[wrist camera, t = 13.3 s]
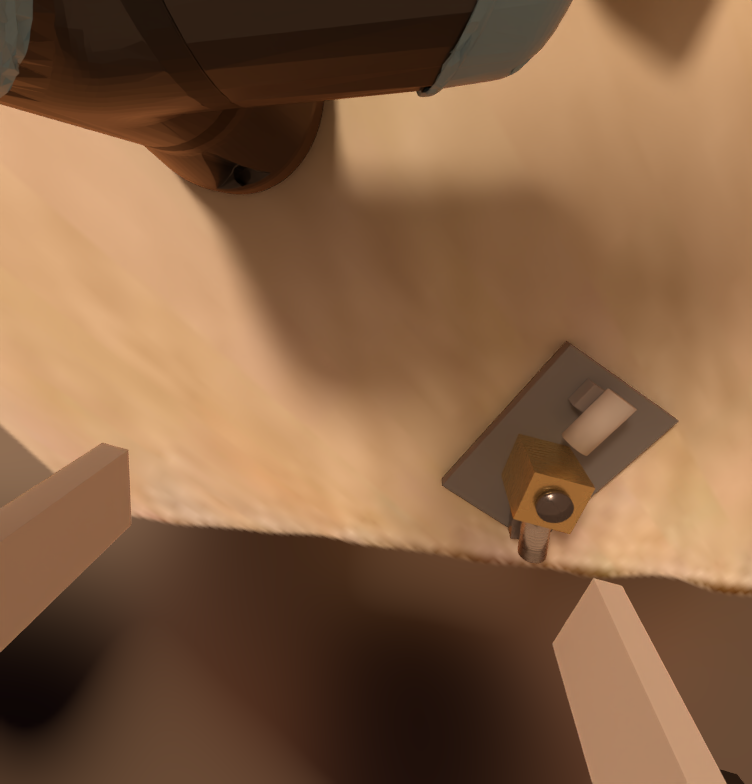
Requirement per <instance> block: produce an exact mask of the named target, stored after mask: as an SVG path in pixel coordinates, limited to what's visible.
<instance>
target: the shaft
mask: <svg viewBox="0 0 752 784" xmlns="http://www.w3.org/2000/svg"><path fill="white" fill-rule="evenodd" d="M508 530H509V534H510V538H511V539H519V542H518V553H519V555H520V556H521V557H522V558H523V559H524V560H526V561H528V562H531V563H541V562H543V561H544V560H545V559H546V555H547V549H548V543H549V536H550V530H551V529H549V528H545V527H541V526H538V525H534V524H530V523H526V522H523V521H519V520H515V519H513V516H512V513H511V509H510V514H509V523H508Z"/></svg>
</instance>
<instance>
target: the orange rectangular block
mask: <svg viewBox="0 0 752 784" xmlns="http://www.w3.org/2000/svg"><path fill="white" fill-rule="evenodd" d="M501 476H502V480H503V484H504V487H505V491H506V495H507V498H508V502H509V506H510V509H511V513H512V516H513V519H515V520H519V521H523V522H526V523H530V524H534V525H538V526H541V527H545V528H549V529H553V530H556V531H560V532H564V533H567V534H570V533H571V532H572V530H573V528H574V526H575V524H576V523H577V521H578V519H579V517H580V515H581V513H582V512H583V510H584V508H585V506H586V504H587V503H588V501H589V499H590V497H591V495H592V494H593V492H594V490H595V487H594V485H593V484H592V482H591V480H590V479H589V477H588V476H587V474H586V472H585V471H584V469H583V468H582V466H581V464H580V463H579V461H578V460H577V458H576V456H575V455H574V453H573V452H572V450H571V448H570V447H569V446H565V445H561V444H557V443H553V442H549V441H546V440H542V439H538V438H534V437H530V436H526V435H522V434H518V436H517V439H516V441H515V443H514V446H513V448H512V450H511V453H510V455H509V458H508V460H507V462H506V465H505V467H504V469H503V472H502V474H501Z"/></svg>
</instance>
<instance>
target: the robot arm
mask: <svg viewBox="0 0 752 784" xmlns="http://www.w3.org/2000/svg"><path fill="white" fill-rule="evenodd" d="M571 2H572V0H0V104H2V105H5V106H9V107H12V108H15V109H19V110H22V111H26V112H29V113H33V114H36V115H40V116H43V117H47V118H50V119H54V120H57V121H61V122H64V123H68V124H71V125H75V126H78V127H82V128H85V129H89V130H92V131H96V132H99V133H103V134H106V135H110V136H113V137H117V138H120V139H124V140H127V141H131V142H134V143H138V144H141V145H144V146H145V147H146V148H147V149H148V150H149V151H150V152H152V153H153V154H154V155H155V156H156V157H157V158H158V159H159V160H161V161H162V162H163V163H164V164H165V165H166V166H167V167H169V168H170V169H171V170H172V171H174V172H175V173H176V174H178V175H179V176H181V177H183V178H184V179H186V180H188V181H190V182H192V183H194V184H196V185H198V186H200V187H203V188H206V189H210V190H214V191H219V192H224V193H230V194H251V193H256V192H260V191H263V190H266V189H269V188H271V187H273V186H275V185H276V184H278V183H280V182H281V181H283V180H284V179H285V178H287V177H288V176H289V175H290V174H291V173H292V172H293V171H294V170H295V169H296V168H297V167H298V166H299V164H300V163H301V162H302V160H303V159H304V158H305V156H306V154H307V153H308V151H309V149H310V147H311V145H312V143H313V141H314V139H315V136H316V134H317V131H318V128H319V124H320V121H321V116H322V111H323V104H324V101H325V100H335V99H344V98H354V97H364V96H374V95H384V94H394V93H403V92H413V91H416V92H417V94H418V96H420V97H428V96H432V95H435V94H436V93H438V92H439V91H441V90H442V89H443V88H449V87H455V86H462V85H468V84H475V83H481V82H488V81H494V80H499V79H502V78H505V77H507V76H509V75H512V74H514V73H515V72H517V71H519V70H520V69H521V68H522V67H523V66H524V65H525V64H526V63H527V62H528V61H529V60H530V59H531V58H532V57H533V56H534V55H535V54H537V53H538V52H539V51H540V50H541V49H542V48H543V46H544V45H545V44H546V43H547V41H548V40H549V39H550V37H551V36H552V35H553V33H554V31H555V30H556V28H557V27H558V25H559V23H560V22H561V20H562V18H563V17H564V15H565V13H566V12H567V10H568V8H569V6H570V4H571ZM130 525H131V504H130V480H129V456H128V450H127V449H123V448H119V447H116V446H112V445H109V444H105V443H101V444H100V445H98V446H97V447H95V448H94V449H92V450H90V451H89V452H87V453H86V454H84V455H83V456H81V457H79V458H78V459H76V460H75V461H73V462H72V463H70V464H69V465H67V466H65V467H64V468H62V469H61V470H59V471H58V472H56V473H55V474H53V475H51V476H50V477H48V478H47V479H46V480H44V481H42V482H41V483H39V484H38V485H36V486H34V487H33V488H31V489H30V490H28V491H27V492H25V493H23V494H22V495H20V496H19V497H17V498H16V499H14V500H12V501H11V502H9V503H8V504H6V505H5V506H3V507H2V508H0V652H1V651H2V650H3V649H4V648H5V647H6V646H7V645H8V644H9V643H10V642H11V641H12V640H13V639H14V638H15V637H16V636H17V635H18V634H19V633H20V632H21V631H22V630H24V629H25V628H26V627H27V626H28V625H29V624H30V623H31V622H32V621H33V620H34V619H35V618H36V617H37V616H38V615H39V614H40V613H41V612H42V611H43V610H44V609H45V608H46V607H47V606H48V605H49V604H50V603H51V602H52V601H53V600H54V599H55V598H56V597H57V596H58V595H60V593H62V592H63V591H64V590H65V589H66V588H67V587H68V586H69V585H70V584H71V583H72V582H73V581H74V580H75V579H76V578H77V577H78V576H79V575H80V574H81V573H82V572H83V571H84V570H85V569H86V568H87V567H88V566H89V565H90V564H91V563H92V562H93V561H94V560H95V559H96V558H98V557H99V556H100V554H102V553H103V552H104V551H105V550H106V549H107V548H108V547H109V546H110V545H111V544H112V543H113V542H114V541H115V540H116V539H117V538H118V537H119V536H120V535H121V534H122V533H123V532H124V531H125V530H126V529H127V528H128V527H129V526H130ZM552 645H553V648H554V652H555V655H556V659H557V662H558V666H559V669H560V673H561V676H562V680H563V683H564V687H565V690H566V694H567V697H568V701H569V704H570V708H571V711H572V715H573V718H574V721H575V725H576V728H577V732H578V736H579V739H580V742H581V746H582V750H583V753H584V756H585V760H586V763H587V767H588V770H589V774H590V777H591V781H592V784H744V783H743V781H742V780H741V779H740V778H739V776H738V775H737V774H734V773H730V772H727V771H724V770H720V769H719V768H718V766H717V765H716V763H715V761H714V759H713V757H712V755H711V753H710V751H709V749H708V747H707V746H706V744H705V742H704V740H703V738H702V736H701V734H700V732H699V730H698V728H697V727H696V725H695V723H694V721H693V719H692V718H691V715H690V713H689V712H688V710H687V708H686V706H685V704H684V702H683V701H682V699H681V696H680V695H679V693H678V691H677V689H676V687H675V685H674V683H673V681H672V680H671V678H670V676H669V674H668V672H667V670H666V668H665V666H664V664H663V662H662V661H661V659H660V657H659V655H658V653H657V651H656V649H655V647H654V645H653V643H652V642H651V640H650V638H649V636H648V634H647V632H646V630H645V628H644V626H643V625H642V623H641V621H640V619H639V617H638V615H637V613H636V611H635V610H634V608H633V606H632V604H631V602H630V600H629V598H628V596H627V594H626V592H625V591H624V589H623V587H622V586H620V585H616V584H613V583H609V582H606V581H602V580H598V579H595V578H593V580H592V582H591V583H590V585H589V586H588V588H587V589H586V591H585V593H584V594H583V596H582V598H581V599H580V601H579V602H578V604H577V605H576V607H575V609H574V610H573V612H572V613H571V615H570V616H569V618H568V620H567V621H566V623H565V624H564V626H563V628H562V629H561V631H560V632H559V634H558V636H557V637H556V639H555V640H554V642H553V644H552Z"/></svg>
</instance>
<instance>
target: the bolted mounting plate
mask: <svg viewBox="0 0 752 784" xmlns="http://www.w3.org/2000/svg"><path fill="white" fill-rule="evenodd" d="M677 422H679V421H678V420H677V419H675V418H674V417H673V416H671V415H670V414H669V413H667V412H666V411H664V410H663V409H662V408H660V407H659V406H657V405H656V404H655V403H653V402H652V401H650V400H649V399H648V398H646V397H645V396H643V395H642V394H640V393H639V392H638V391H636V390H635V389H633V388H632V387H631V386H629V385H628V384H626V383H625V382H624V381H622V380H621V379H619V378H618V377H617V376H615V375H614V374H612V373H611V372H609V371H608V370H607V369H605V368H604V367H602V366H601V365H600V364H598V363H597V362H595V361H594V360H593V359H591V358H590V357H588V356H587V355H585V354H584V353H583V352H581V351H580V350H578V349H577V348H576V347H574V346H573V345H571V344H570V343H569V342H567V341H566V342H565V343H564V344H563V345H562V347H561V348H560V349H559V350H558V351H557V352H556V353H555V354H554V355H553V356H552V358H551V359H550V360H549V361H548V362H547V363H546V364H545V365H544V366H543V368H542V369H541V370H540V371H539V372H538V373H537V374H536V375H535V376H534V377H533V379H532V380H531V381H530V382H529V383H528V384H527V385H526V386H525V387H524V388H523V390H522V391H521V392H520V393H519V394H518V395H517V396H516V397H515V398H514V400H513V401H512V402H511V403H510V404H509V405H508V406H507V407H506V408H505V409H504V411H503V412H502V413H501V414H500V415H499V416H498V417H497V418H496V419H495V421H494V422H493V423H492V424H491V425H490V426H489V427H488V428H487V429H486V430H485V432H484V433H483V434H482V435H481V436H480V437H479V438H478V439H477V440H476V441H475V443H474V444H473V445H472V446H471V447H470V448H469V449H468V450H467V451H466V453H465V454H464V455H463V456H462V457H461V458H460V459H459V460H458V461H457V462H456V464H455V465H454V466H453V467H452V468H451V469H450V470H449V471H448V472H447V474H446V475H445V476H444V477H443V478H442V486H444V487H445V488H447V489H448V490H450V491H451V492H453V493H455V494H456V495H458V496H459V497H461V498H462V499H464V500H466V501H467V502H469V503H470V504H472V505H473V506H475V507H477V508H478V509H480V510H481V511H483V512H484V513H486V514H488V515H489V516H491V517H492V518H494V519H495V520H497V521H499V522H500V523H502V524H503V525H505V526H506V527H508V523H509V514H510V506H509V502H508V498H507V495H506V491H505V487H504V484H503V480H502V476H501V474H502V472H503V469H504V467H505V465H506V462H507V460H508V458H509V455H510V453H511V450H512V448H513V446H514V443H515V441H516V439H517V436H518V434H522V435H526V436H530V437H534V438H538V439H542V440H546V441H549V442H553V443H557V444H561V445H565V446H569V447H570V448H571V450H572V452H573V453H574V455H575V456H576V458H577V460H578V461H579V463H580V464H581V466H582V468H583V469H584V471H585V472H586V474H587V476H588V477H589V479H590V480H591V482H592V484H593V485H594V487H595V490H594V492H593V494H592V495H591V497H592V496H593V495H594V494H595V493H596V492H597V491H599V490H600V489H601V488H602V487H603V486H604V485H606V484H607V483H608V482H609V481H610V480H611V479H612V478H614V477H615V476H616V475H617V474H618V473H619V472H621V471H622V470H623V469H624V468H625V467H626V466H628V465H629V464H630V463H631V462H632V461H633V460H635V459H636V458H637V457H638V456H639V455H640V454H641V453H643V452H644V451H645V450H646V449H647V448H648V447H650V446H651V445H652V444H653V443H654V442H655V441H657V440H658V439H659V438H660V437H661V436H662V435H664V434H665V433H666V432H667V431H668V430H669V429H671V428H672V427H673V426H674V425H675V424H676V423H677ZM552 530H553V529H551V530H550V532H551V531H552Z"/></svg>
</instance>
